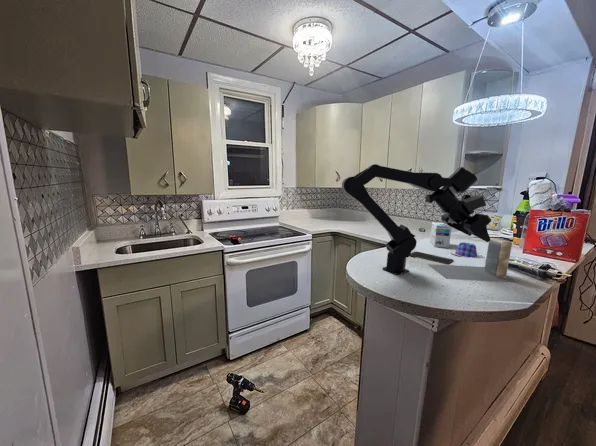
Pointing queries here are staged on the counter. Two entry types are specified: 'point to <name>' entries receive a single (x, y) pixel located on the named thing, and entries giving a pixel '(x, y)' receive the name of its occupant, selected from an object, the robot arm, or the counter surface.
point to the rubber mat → (467, 273)
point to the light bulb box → (440, 235)
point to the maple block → (498, 257)
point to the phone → (431, 257)
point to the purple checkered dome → (466, 250)
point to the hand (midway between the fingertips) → (479, 237)
